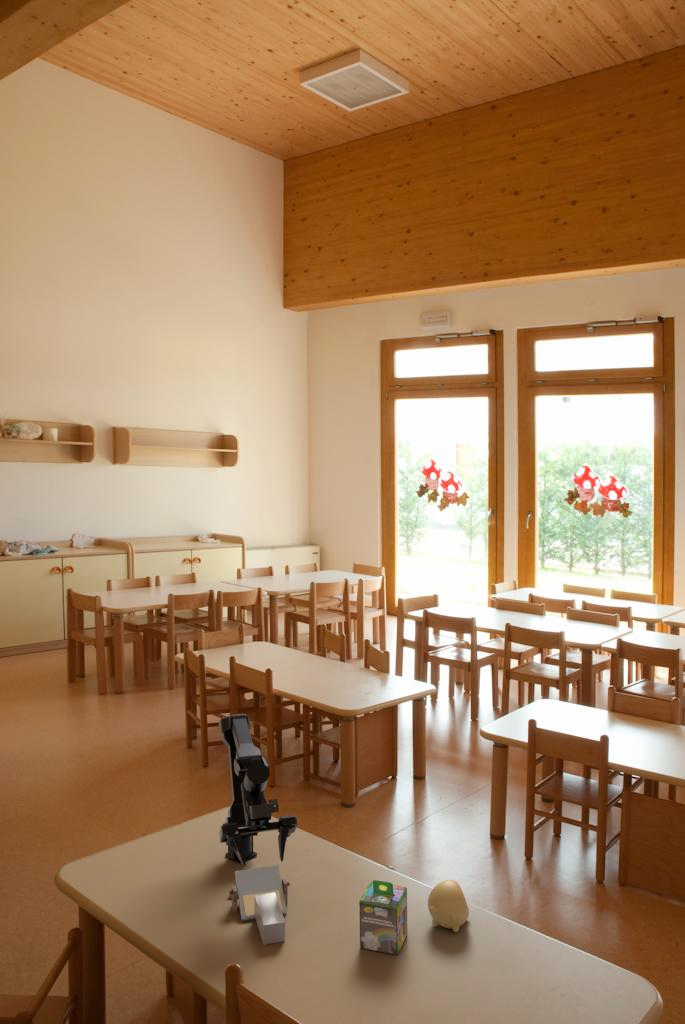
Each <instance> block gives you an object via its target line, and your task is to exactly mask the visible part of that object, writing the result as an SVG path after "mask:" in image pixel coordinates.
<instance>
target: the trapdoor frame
mask: <svg viewBox="0 0 685 1024" xmlns="http://www.w3.org/2000/svg"><path fill="white" fill-rule="evenodd" d="M281 883H282V888H283V893H284V899H285V904H286V906H287V904H288V905H289V903H288V891H289V890H288V887H290V886H291V884H290V881H287V880H286V877H281ZM228 899H231V908H232V912H233V914H237V913H238V893H237V886H236V884H232V885H231V890H229V891H228Z"/></svg>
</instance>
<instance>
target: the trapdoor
mask: <svg viewBox="0 0 685 1024" xmlns="http://www.w3.org/2000/svg"><path fill="white" fill-rule="evenodd" d="M234 877H235V886H236V889H237V893H238V897H237V901H238V905H239V913H240V917H241V921H242V922H244V921H249V920H256V919H255V916H254V896H255V895H261V894H268V893H274V892H275V894H276V897H277V900H278V903H279V905H280V908H281V911H282V914H283V915H287V913H288V909H287V905H286V904H285V899H284V893H283V888H282V877H281V873H280V867H279V864H275V865H270V866H269V865H268V866H261V867H254V868H248V869H240V870H235V871H234Z"/></svg>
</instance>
